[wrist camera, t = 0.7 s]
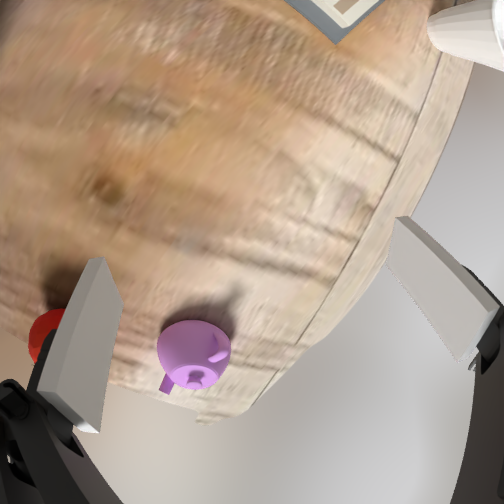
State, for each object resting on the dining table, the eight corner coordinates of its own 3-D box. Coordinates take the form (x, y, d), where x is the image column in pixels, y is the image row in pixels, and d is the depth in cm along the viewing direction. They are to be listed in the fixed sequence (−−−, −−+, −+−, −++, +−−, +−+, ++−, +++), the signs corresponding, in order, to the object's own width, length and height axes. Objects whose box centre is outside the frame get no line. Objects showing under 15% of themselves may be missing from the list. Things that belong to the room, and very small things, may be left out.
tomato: (82, 352, 52) (68, 405, 41) (32, 314, 45) (9, 366, 34) (122, 324, 49) (109, 385, 38) (66, 277, 42) (37, 336, 30)
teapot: (136, 351, 54) (130, 395, 45) (193, 294, 47) (192, 344, 39) (190, 375, 60) (191, 417, 51) (252, 329, 54) (261, 375, 45)
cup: (467, 25, 26) (538, 31, 12) (458, 78, 32) (533, 96, 18) (418, -12, 23) (493, -24, 10) (408, 44, 29) (490, 47, 16)
